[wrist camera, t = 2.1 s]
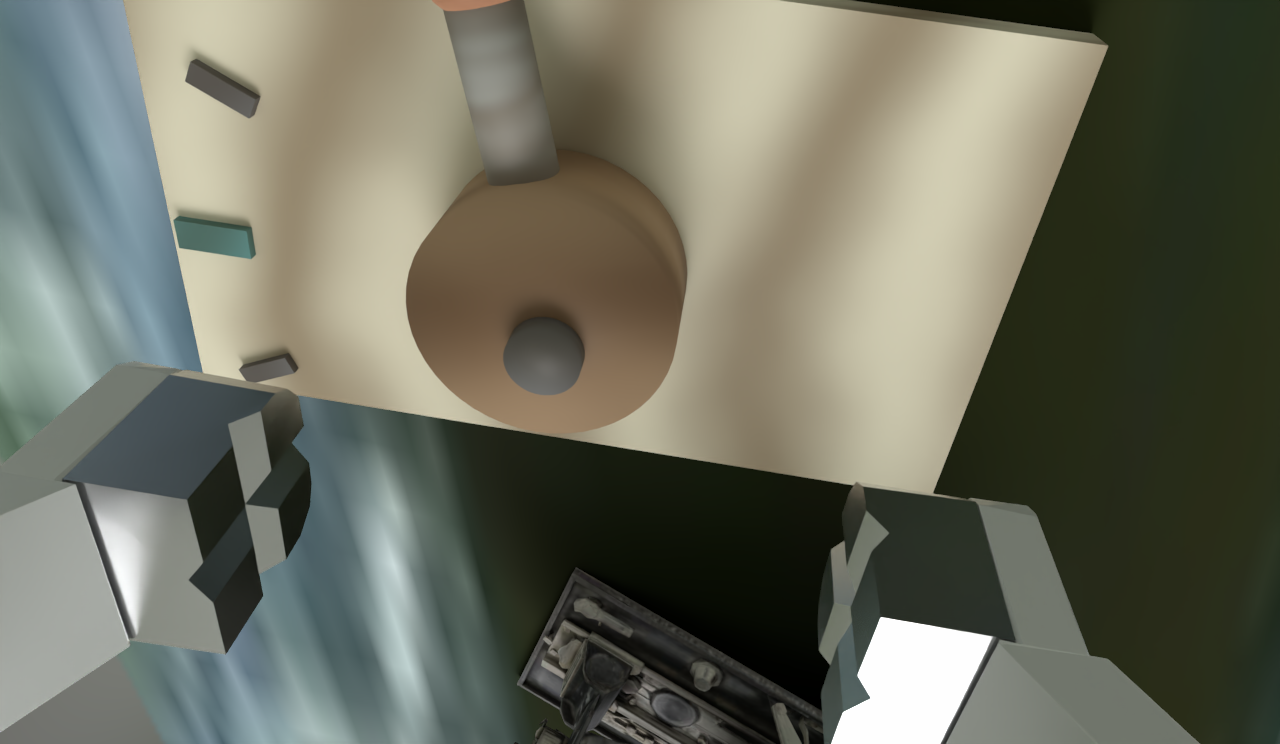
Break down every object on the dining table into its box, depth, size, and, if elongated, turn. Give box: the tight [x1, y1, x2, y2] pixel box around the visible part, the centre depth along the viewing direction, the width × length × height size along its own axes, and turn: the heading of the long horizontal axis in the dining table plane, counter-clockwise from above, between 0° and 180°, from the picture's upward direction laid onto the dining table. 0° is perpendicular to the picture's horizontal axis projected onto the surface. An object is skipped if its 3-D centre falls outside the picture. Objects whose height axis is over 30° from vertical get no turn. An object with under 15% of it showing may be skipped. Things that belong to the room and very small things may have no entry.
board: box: [123, 0, 1108, 494], centre depth 25 cm, size 24×14×2 cm, turn 84°
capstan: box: [406, 0, 687, 433], centre depth 22 cm, size 13×7×4 cm, turn 9°
